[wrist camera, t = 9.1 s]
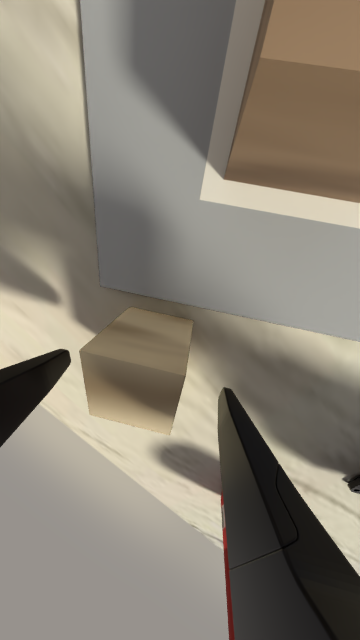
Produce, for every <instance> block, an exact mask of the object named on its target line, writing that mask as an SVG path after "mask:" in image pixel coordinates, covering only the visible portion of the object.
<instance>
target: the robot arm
mask: <svg viewBox="0 0 360 640" xmlns="http://www.w3.org/2000/svg"><path fill="white" fill-rule="evenodd" d="M70 363H71V358H70V354H69V351H68V350H65V349H58V350H55V351H52V352H49V353H46V354H44V355H41V356H38V357H35V358H32V359H29V360H26V361H23V362H20V363H18V364H15V365H12V366H9V367H6V368H3V369H0V447H1V446H2V445H3V443H5V441H6V440H7V439H8V438H9V437H10V436H11V435H12V433H13V432H14V431H15V430H16V429H17V428H18V427H19V426H20V424H21V423H22V422H23V421H24V420H25V419H26V418H27V417H28V415H29V414H30V413H31V412H32V411H33V410H34V409H35V407H36V406H37V405H38V404H39V403H40V402H41V401H42V400H43V398H44V397H45V396H46V395H47V394H48V393H49V392H50V390H51V389H52V388H53V387H54V385H55V384H56V383H57V381H58V380H59V379H60V377H61V376H62V375H63V373H64V372H65V371H66V369H67V368H68V367H69V365H70ZM218 442H219V454H220V466H221V478H222V490H223V502H224V514H225V526H226V538H227V550H228V562H229V569H230V570H229V575H230V588H231V600H232V612H233V624H234V636H235V640H360V576H359V575H358V574H357V572H356V571H355V570H354V568H353V567H352V566H351V564H350V563H349V562H348V560H347V559H346V557H345V556H344V555H343V553H342V552H341V551H340V549H339V548H338V547H337V545H336V544H335V542H334V541H333V540H332V538H331V537H330V536H329V534H328V533H327V531H326V530H325V529H324V527H323V526H322V525H321V523H320V522H319V521H318V519H317V518H316V516H315V515H314V514H313V512H312V511H311V509H310V508H309V507H308V505H307V504H306V502H305V501H304V500H303V498H302V497H301V495H300V494H299V493H298V491H297V490H296V488H295V487H294V485H293V484H292V482H291V481H290V479H289V478H288V476H287V475H286V473H285V472H284V470H283V468H282V467H281V465H280V464H278V461H277V459H276V458H275V456H274V455H273V453H272V452H271V450H270V448H269V447H268V445H267V444H266V442H265V441H264V439H263V438H262V436H261V434H260V433H259V431H258V430H257V428H256V427H255V425H254V424H253V422H252V421H251V419H250V417H249V416H248V414H247V413H246V411H245V410H244V408H243V407H242V405H241V404H240V402H239V400H238V399H237V397H236V396H235V394H234V393H233V391H232V390H231V389H230V388H225V387H224V388H223V389H222V391H221V393H220V395H219V399H218ZM347 485H348V487H349V489H350V490H351V491H352V492H355V493H358V494H360V477H359V478H357V479H356V480H354V481H352V482H350V483H349V484H347Z"/></svg>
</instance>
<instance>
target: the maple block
mask: <svg viewBox="0 0 360 640" xmlns="http://www.w3.org/2000/svg"><path fill="white" fill-rule="evenodd" d="M192 328H193V321H192V320H188V319H183V318H179V317H174V316H170V315H165V314H161V313H156V312H152V311H147V310H142V309H138V308H133V307H129V308H128V309H127V310H126V311H125V312H123V313H122V314H121V315H120V316H119V317H118V318H116V319H115V320H114V321H113V322H112V323H111V324H109V325H108V326H107V327H106V328H105V329H104V330H102V331H101V332H100V333H99V334H98V335H97V336H95V337H94V338H93V339H92V340H91V341H90V342H88V343H87V344H86V345H85V346H84V347H83V348H81V349H80V350H79V352H80V358H81V364H82V370H83V377H84V383H85V389H86V395H87V401H88V407H89V413H90V415H93V416H96V417H100V418H104V419H108V420H112V421H116V422H120V423H124V424H127V425H131V426H135V427H139V428H143V429H147V430H151V431H155V432H159V433H162V434H166V435H170V433H171V429H172V425H173V422H174V418H175V414H176V410H177V407H178V403H179V399H180V395H181V392H182V388H183V384H184V380H185V377H186V370H187V363H188V356H189V349H190V342H191V335H192Z"/></svg>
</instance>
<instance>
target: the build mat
mask: <svg viewBox="0 0 360 640" xmlns="http://www.w3.org/2000/svg"><path fill="white" fill-rule="evenodd" d="M264 3H265V0H80V7H81V21H82V35H83V50H84V64H85V78H86V92H87V107H88V121H89V135H90V149H91V163H92V178H93V192H94V206H95V220H96V235H97V249H98V263H99V277H100V286H102V287H106V288H111V289H116V290H120V291H125V292H130V293H134V294H139V295H144V296H148V297H153V298H158V299H162V300H167V301H172V302H176V303H181V304H186V305H190V306H195V307H200V308H204V309H209V310H214V311H218V312H223V313H228V314H232V315H237V316H242V317H246V318H251V319H256V320H260V321H265V322H270V323H274V324H279V325H284V326H288V327H293V328H298V329H302V330H307V331H312V332H316V333H321V334H326V335H330V336H335V337H340V338H344V339H349V340H354V341H358V342H360V203H355V202H350V201H344V200H338V199H332V198H327V197H321V196H315V195H309V194H304V193H298V192H292V191H286V190H281V189H275V188H269V187H263V186H258V185H252V184H246V183H240V182H235V181H229V180H224V175H225V171H226V167H227V163H228V158H229V154H230V150H231V145H232V141H233V137H234V132H235V128H236V124H237V119H238V115H239V111H240V107H241V102H242V98H243V94H244V89H245V85H246V81H247V76H248V72H249V68H250V63H251V59H252V55H253V51H254V46H255V42H256V38H257V33H258V29H259V25H260V20H261V16H262V12H263V7H264Z"/></svg>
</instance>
